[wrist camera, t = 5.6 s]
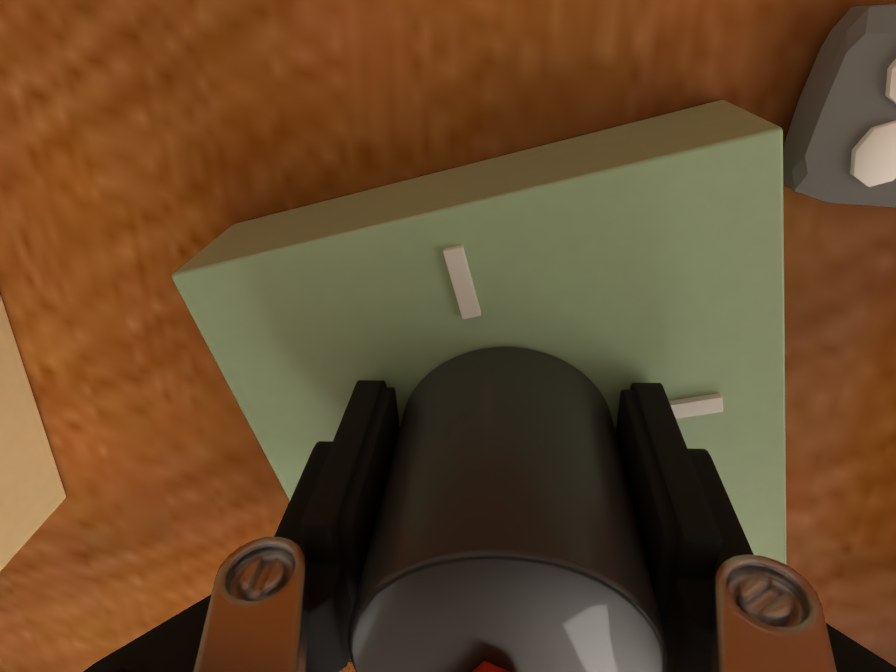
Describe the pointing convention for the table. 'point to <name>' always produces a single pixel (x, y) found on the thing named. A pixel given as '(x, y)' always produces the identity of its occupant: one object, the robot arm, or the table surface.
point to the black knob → (506, 530)
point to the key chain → (848, 114)
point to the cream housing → (22, 454)
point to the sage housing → (529, 290)
